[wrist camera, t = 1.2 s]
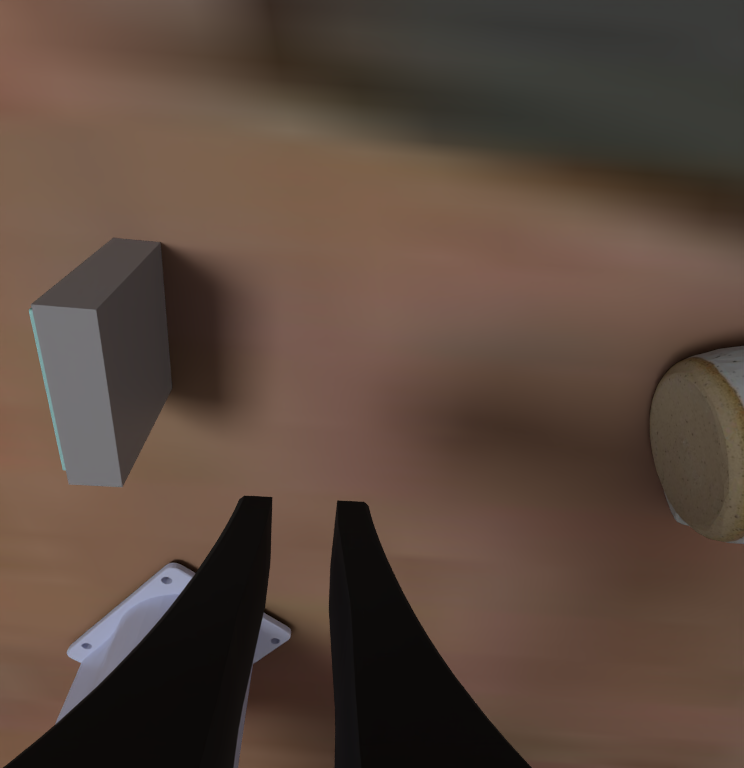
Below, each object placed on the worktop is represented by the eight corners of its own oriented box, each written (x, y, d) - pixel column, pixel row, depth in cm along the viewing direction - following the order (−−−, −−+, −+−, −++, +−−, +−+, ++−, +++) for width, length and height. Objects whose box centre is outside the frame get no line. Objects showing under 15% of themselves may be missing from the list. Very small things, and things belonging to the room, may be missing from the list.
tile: (160, 242, 20) (96, 309, 14) (172, 387, 23) (122, 487, 17) (105, 237, 19) (20, 303, 14) (125, 384, 22) (60, 483, 17)
